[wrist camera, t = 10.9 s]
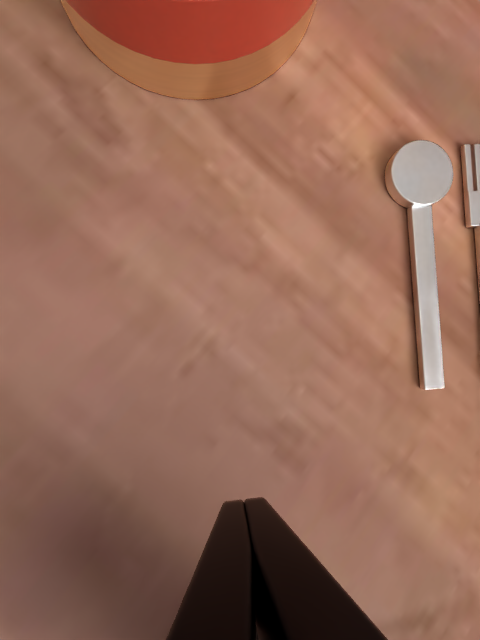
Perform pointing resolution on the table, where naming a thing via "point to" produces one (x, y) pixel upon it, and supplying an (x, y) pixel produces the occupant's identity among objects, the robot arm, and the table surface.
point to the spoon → (422, 242)
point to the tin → (192, 41)
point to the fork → (472, 194)
